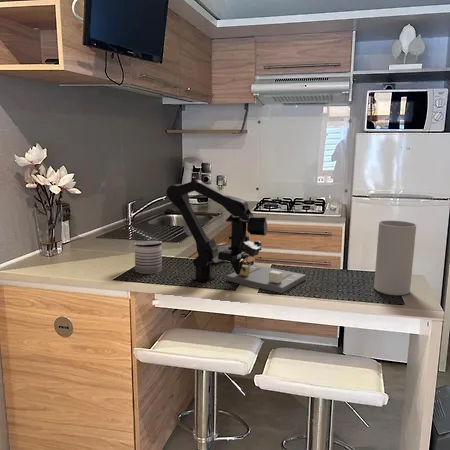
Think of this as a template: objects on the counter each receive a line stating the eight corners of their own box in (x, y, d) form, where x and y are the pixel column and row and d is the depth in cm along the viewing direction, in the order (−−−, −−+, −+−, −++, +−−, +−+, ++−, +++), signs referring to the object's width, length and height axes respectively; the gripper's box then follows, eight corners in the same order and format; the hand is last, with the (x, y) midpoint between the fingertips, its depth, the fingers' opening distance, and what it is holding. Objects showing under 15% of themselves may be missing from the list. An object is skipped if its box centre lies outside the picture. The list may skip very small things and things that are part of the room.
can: (134, 274, 184) (134, 245, 182) (133, 266, 195) (133, 238, 193) (163, 273, 187) (163, 244, 184) (161, 265, 197) (160, 238, 195)
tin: (228, 257, 212) (228, 239, 211) (233, 259, 210) (233, 240, 209) (206, 264, 201) (206, 245, 199) (211, 265, 199) (212, 246, 197)
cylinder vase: (413, 297, 163) (419, 227, 158) (376, 294, 165) (381, 225, 160) (406, 286, 175) (412, 221, 170) (371, 284, 177) (376, 219, 172)
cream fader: (278, 283, 168) (278, 274, 167) (268, 281, 170) (269, 272, 170) (282, 281, 170) (282, 272, 170) (272, 279, 173) (272, 270, 172)
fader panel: (282, 293, 165) (282, 287, 164) (226, 280, 178) (226, 275, 177) (305, 279, 181) (305, 274, 181) (252, 269, 194) (253, 264, 194)
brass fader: (245, 276, 176) (245, 267, 175) (236, 274, 178) (236, 265, 177) (249, 274, 178) (249, 265, 177) (240, 272, 180) (240, 264, 180)
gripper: (243, 240, 160) (242, 284, 163) (270, 232, 175) (268, 272, 178) (217, 236, 166) (216, 278, 169) (245, 228, 181) (244, 267, 184)
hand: (237, 274), depth 175 cm, fingers closed
